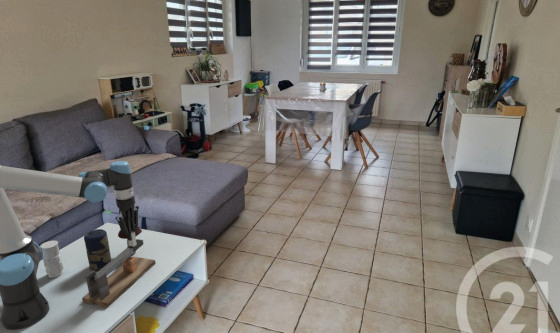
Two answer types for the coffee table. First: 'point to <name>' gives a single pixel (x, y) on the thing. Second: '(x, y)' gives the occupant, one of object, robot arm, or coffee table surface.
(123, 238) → the decorative mushroom
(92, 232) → the canister
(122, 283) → the base
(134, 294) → the coffee table surface
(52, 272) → the white ribbed cylinder
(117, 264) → the lever
